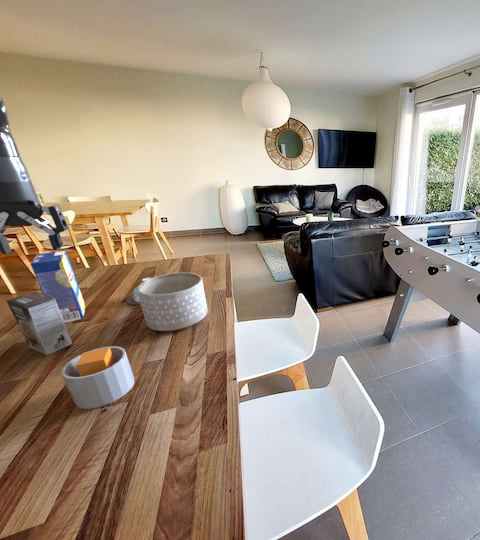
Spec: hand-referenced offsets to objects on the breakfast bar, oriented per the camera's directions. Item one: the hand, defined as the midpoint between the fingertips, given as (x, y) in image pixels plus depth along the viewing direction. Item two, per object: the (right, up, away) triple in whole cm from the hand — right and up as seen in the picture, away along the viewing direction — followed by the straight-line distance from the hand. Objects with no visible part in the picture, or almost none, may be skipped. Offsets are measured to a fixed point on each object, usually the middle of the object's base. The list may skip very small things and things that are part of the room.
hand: (32, 251), depth 67 cm
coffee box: (-17, -28, +19) cm, 37 cm away
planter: (+12, -22, +35) cm, 43 cm away
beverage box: (-27, -21, +35) cm, 49 cm away
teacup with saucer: (-10, -16, +48) cm, 52 cm away
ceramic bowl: (+13, -35, +4) cm, 37 cm away
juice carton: (+13, -34, +4) cm, 37 cm away
